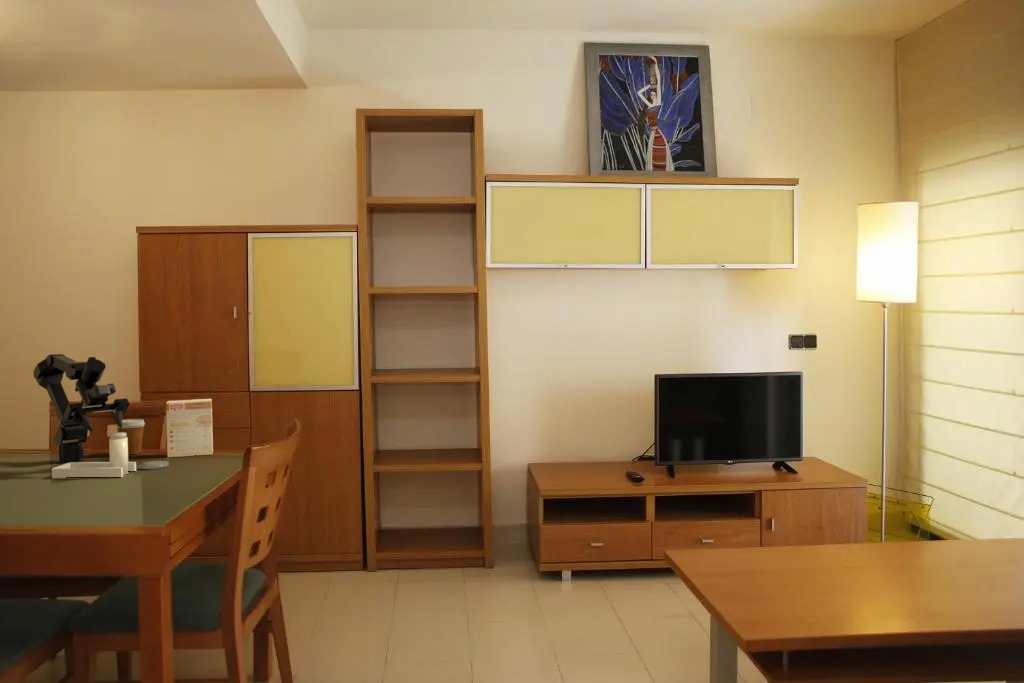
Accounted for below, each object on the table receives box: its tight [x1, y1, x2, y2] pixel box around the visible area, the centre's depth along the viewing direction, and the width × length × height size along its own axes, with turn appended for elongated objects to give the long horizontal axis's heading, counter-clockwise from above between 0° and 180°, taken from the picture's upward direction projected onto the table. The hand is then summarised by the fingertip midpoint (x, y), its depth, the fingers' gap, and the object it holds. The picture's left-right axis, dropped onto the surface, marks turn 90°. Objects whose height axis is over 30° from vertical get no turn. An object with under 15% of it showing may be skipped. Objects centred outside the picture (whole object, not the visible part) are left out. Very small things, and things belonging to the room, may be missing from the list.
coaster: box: [136, 460, 169, 470], centre depth 262 cm, size 10×10×1 cm
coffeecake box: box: [165, 398, 214, 458], centre depth 284 cm, size 15×7×20 cm, turn 110°
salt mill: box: [108, 431, 129, 476], centre depth 250 cm, size 5×5×13 cm
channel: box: [51, 461, 137, 479], centre depth 250 cm, size 21×10×3 cm, turn 91°
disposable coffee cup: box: [115, 418, 146, 456], centre depth 286 cm, size 10×10×12 cm
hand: (106, 428), depth 255 cm, fingers open, 9 cm apart
